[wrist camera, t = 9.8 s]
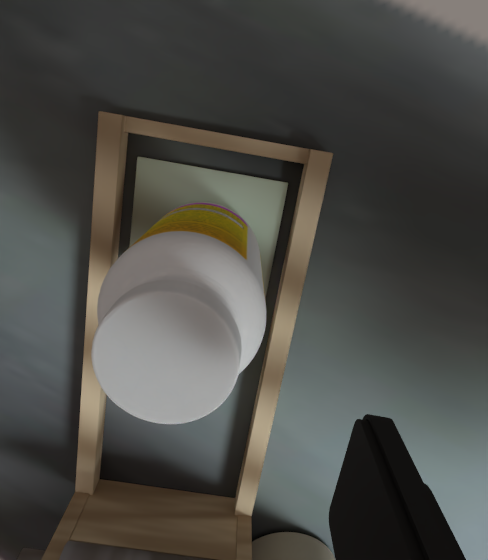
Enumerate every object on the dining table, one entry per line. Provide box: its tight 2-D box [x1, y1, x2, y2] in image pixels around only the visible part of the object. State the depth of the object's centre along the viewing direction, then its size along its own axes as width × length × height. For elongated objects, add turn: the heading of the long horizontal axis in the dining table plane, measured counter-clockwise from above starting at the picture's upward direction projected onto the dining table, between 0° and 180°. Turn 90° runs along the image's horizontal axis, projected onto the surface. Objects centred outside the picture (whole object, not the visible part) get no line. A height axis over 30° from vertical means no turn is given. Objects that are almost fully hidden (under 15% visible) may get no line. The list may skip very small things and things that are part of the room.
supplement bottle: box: [91, 202, 266, 424], centre depth 19 cm, size 7×7×13 cm
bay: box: [17, 111, 333, 560], centre depth 24 cm, size 27×14×7 cm, turn 170°
